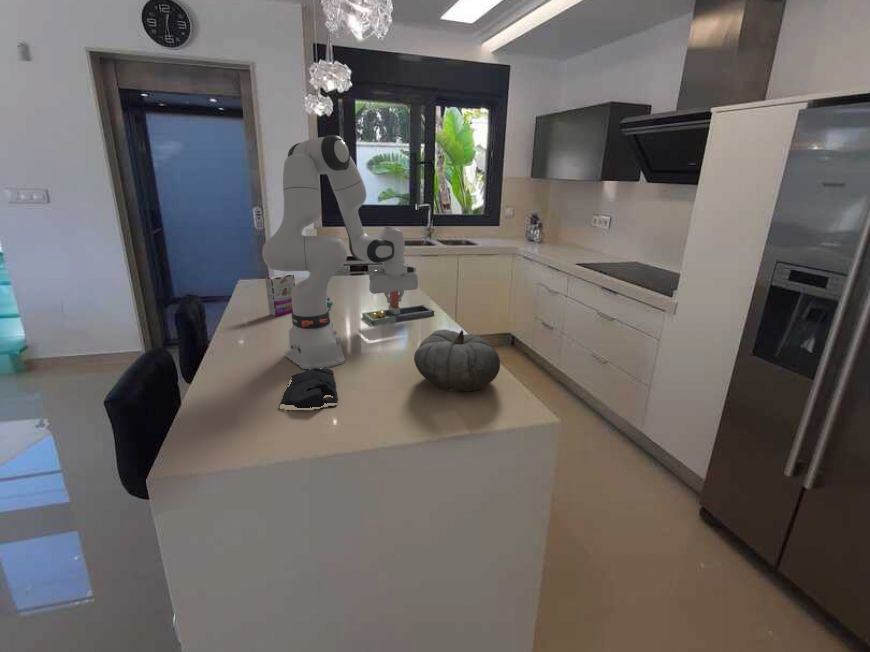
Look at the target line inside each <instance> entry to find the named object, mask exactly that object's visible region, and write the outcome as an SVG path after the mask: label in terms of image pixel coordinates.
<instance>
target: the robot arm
mask: <svg viewBox="0 0 870 652" xmlns="http://www.w3.org/2000/svg"><path fill="white" fill-rule="evenodd" d="M283 163H284V164H283V170H282V171H283V172H282V173H283V174H282V193H283V217H282V221H281V223H280V226H279V227H278V229H277V231H276V232H275V233H274V234H273V235H272V236H271V237H269V238H267V240H266V241H265V242H264V244H263V246H262V253H261V254H262V259H263V262H264V263H265V265H267V267H268V268H269V269H270V270H274V271H280V272H309V276H308V277H307V278H306V279H303V280H301V281H300V282H298V283H295V286H294V287H293V289H292V291H291V297H292V307H293V312H291V322H292V326H291V328H290V329H289V330H288V344H289V345H288V346H289V347H288V350H287V351H285V352H284V357H286V358H287V357H288V358H289V359H290V360H289V359H288V358H287V359H288V360H289V361H291V360H292V361H293V362H294V364H295V363H296V364H297V365H299V366H300V367H301V368H303V369H313V368H322V369H325V368H324V367H327V368H330V366H332V367H336V366H339V365H341V364H344V363H345V362H346V358H345V356H344V352H343V349H342V346H341V344H342V342H341V341H342V340H341V337H340V336H339V337H338V336H337V337H336V335H338V333H337V330H334V327H333V325H334V324H332V323H331V315H330V312H329V309H327V308H328V307H327V302H328V301H327V298H328V297H327V296H328V289H329V288H328V286H329V283H330V281H331V279H332V278H333V276H334V275H335V273H336V272H337V271H338V270H339V269H341V268H342V267H343V266H344V265H345V263H346V261H347V258H348V249H347V246H346V244H345V242H344V240H342V239H341V238H340V237H336V236H330V235H303V234H302V233H303V230H304V229H305V228H306V227H308V226H311V225H313V224H314V223H316V222H317V221H318V220H319V219H320V218H321V215H322V205H321V204H322V203H321V202H322V201H321V190H320V181H319V175H326V176H327V178H328V180H329V183H330V186H331V189H332V192H333V194H334V196H335V198H336V202H337V204H338V209H339V212H340V215H341V218H342V221H343V224H344V228H345V231H346V234H347V237H348V246H349V252H350V254H351V256H352V257H353V258H355V259H356V260H359V261H365V262H368V263H373V264H380V263H382V268H381V269H373V270H372V271H370V272H369V274H368V279H369V288H368V290H369V292H370V293H371V294H373V295H377V294H384V296H385V298H386V302H387V304H390V303H392V298H390V294H389V292H396V291H399V303H401V302H402V298H403V296H404V294H405V291H413V290H417V289H418V288H419V278H418V274H417V267H415V266H413V265H410V264H407V263H405V255H404V254H405V249H406V247H405V246H406V245H405V235H404V232H403V230H401V229H400V228H396V227H390V226H385V227H383V229H382V230H381V231H380V232H379V233H377V234H375V235H373V236H370V235H368V234H367V233H366V232H365V231H364V230H365V229H364V228H363V225H362V222H361V218H360V215H359V210H360V208H361V207H362V206H363V205H364V204H365V202H366V199H367V189H366V186H365V183H364V180H363V178H362V175H361V173H360V171H359V168H358V167H357V165H356V163H355V161H354V160H353V158H352V156H351V152H350V148H349V146H348V144H347V142H346V141H345V140H344V139H343V138H342V137H341V136H340V135H339V136H338V135H334V134H333V135H332V134H331V135H330V134H329V135H326V136H322V137H316V138H315V137H314V138H313V137H312V138H310V139H306V140H303V141H302V142H297V143H295V144H294V145H292V146H291V147H290V148H289V150H288V153H287V157H286V159H284V162H283ZM292 361H291V362H292ZM293 362H292V363H293ZM296 364H295V365H296ZM297 365H296V366H297ZM335 365H336V366H335ZM299 366H298V367H299ZM300 367H299V368H300ZM301 368H300V369H301ZM303 369H302V370H303Z"/></svg>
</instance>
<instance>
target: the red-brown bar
mask: <svg viewBox="0 0 870 652" xmlns="http://www.w3.org/2000/svg"><path fill="white" fill-rule="evenodd" d="M399 294H400V293H399V291H396V292H389V298H392V303H389V304H388V310H389V311H390V312H391V313H393V314H400V308H401V307H399V305H400V304H399V303H400V302H399Z"/></svg>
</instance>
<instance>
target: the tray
mask: <svg viewBox="0 0 870 652" xmlns="http://www.w3.org/2000/svg"><path fill="white" fill-rule="evenodd" d="M386 310H387V309H380V310H374V311H373V310H372V311H368V312H367V311H365V312H362V318H363V320H365V321H367V323H369V324H370V325H371V326H377V325H383V324H390V323H396V322H397V321H396V317H395V316H393V317H388V316H387V315H386ZM379 311H383V312H384V313H385V315H386V316H387V317H385V318H380V319H373V318H371V317H370V314H371V313H376V314H377V313H378V312H379Z"/></svg>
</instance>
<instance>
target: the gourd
mask: <svg viewBox="0 0 870 652" xmlns="http://www.w3.org/2000/svg"><path fill="white" fill-rule="evenodd" d="M413 361H414V365H415V366H416V369H417V371H418V372H419V374H421V375H422V377H423V378H424V379H425V380H427V381H428V382H429V383H430V384H431V385H433V387H436V388H438V389H440V390H443V391H446V392H448V391H456V392H465V391H468V392H469V391H478V390H481V389H484V388H485V387H488V385H489V384H491V383H492V382H493V381H494V380H495V379H496V378H497V376H498V374H499V372H500V369H501V359H500V356H499V354H498V353H497V350H496V348H495V347H494V346H493V344H492V343H491V342H489V341H488V340H487V339H486V338H484V337H481V336H479V335H477V334H472V333H471V334H469V333H468V334H467V333H465V334H464V330H463V329H461V330H460V332H457V331H454V330H449V329H446V328H445V329H444V328H443V329H437V330H435V331H433V332H432V333H431V334H429V336H427V337H426V338H424V339H423V340H422V341H421V343H420V345H419V346H418V348H417V349H416V351H415V352H414V355H413Z"/></svg>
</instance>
